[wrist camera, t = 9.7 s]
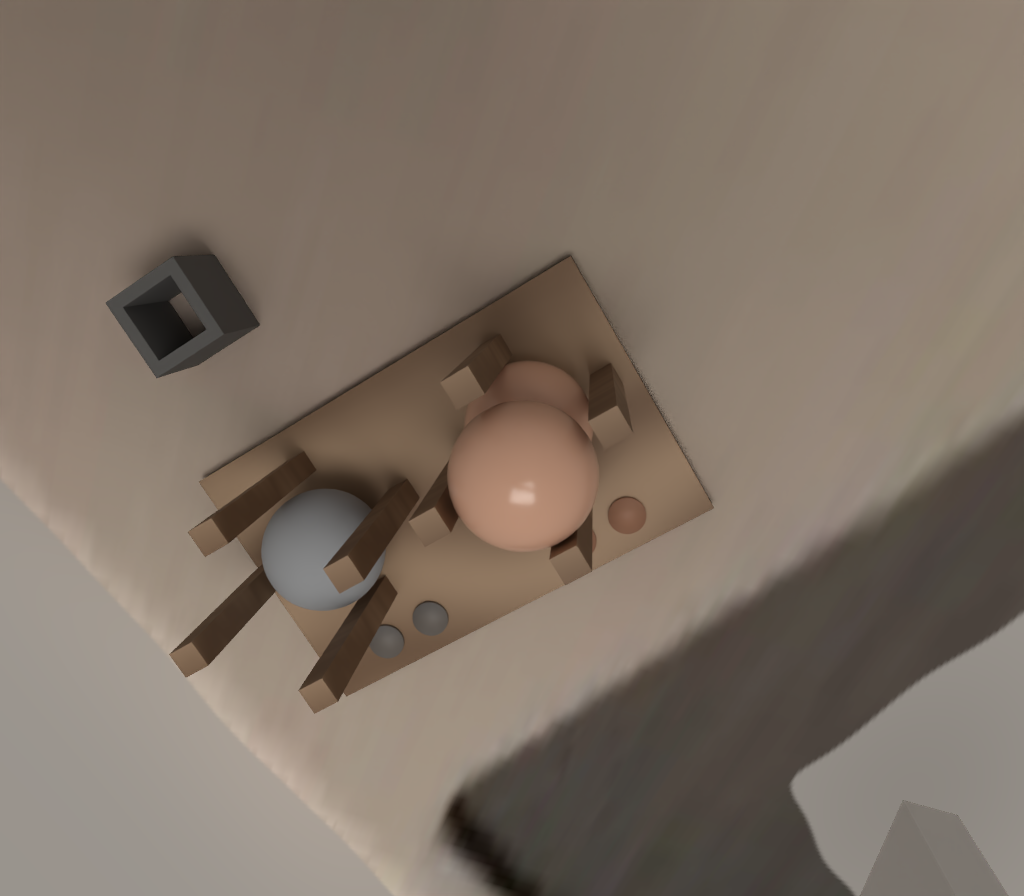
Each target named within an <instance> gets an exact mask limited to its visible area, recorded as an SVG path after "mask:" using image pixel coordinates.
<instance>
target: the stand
mask: <svg viewBox="0 0 1024 896" xmlns="http://www.w3.org/2000/svg"><path fill="white" fill-rule="evenodd" d="M181 292H182V293H183V295H184V296H185V298H186V299H187V301H188V302H189V304H190V305H191V307H192V308H193V310H194V311H195V313H196V314H197V316H198V318H199V319H200V321H201V322H202V324H203V325H204V327H205V328H206V330H205V331H204V332H202V333H201V334H199V335H198V336H196V337H195V338H193V337H192V336H191V334H190V333H189V331H188V330H187V328H186V327H185V325H184V324H183V322H182V321H181V319H180V318H179V316H178V315H177V313H176V312H175V310H174V309H173V307H172V306H171V304H170V303H169V300H170V299H172V298H173V297H175V296H176V295H178V294H179V293H181ZM106 304H107V306H108V307H109V309H110V310H111V312H112V313H113V315H114V316H115V318H116V319H117V321H118V322H119V324H120V325H121V326H122V328H123V329H124V331H125V332H126V334H127V335H128V337H129V338H130V340H131V341H132V343H133V344H134V346H135V347H136V348H137V350H138V351H139V353H140V354H141V356H142V357H143V359H144V360H145V362H146V363H147V365H148V366H149V368H150V369H151V371H152V372H153V373H154V375H155V376H156V378H159V377H162V376H165V375H168V374H171V373H174V372H178V371H181V370H184V369H187V368H190V367H194V366H197V365H199V364H201V363H202V362H204V361H205V360H207V359H208V358H210V357H211V356H213V355H214V354H216V353H218V352H219V351H221V350H222V349H224V348H225V347H227V346H228V345H230V344H232V343H233V342H235V341H236V340H238V339H239V338H241V337H242V336H244V335H245V334H247V333H249V332H250V331H252V330H253V329H255V328H256V327H258V326H259V323H258V322H257V320H256V318H255V317H254V315H253V314H252V312H251V311H250V309H249V308H248V306H247V305H246V303H245V301H244V300H243V298H242V297H241V295H240V294H239V292H238V291H237V289H236V288H235V286H234V285H233V283H232V281H231V280H230V278H229V277H228V275H227V274H226V272H225V271H224V269H223V268H222V266H221V264H220V263H219V261H218V260H217V258H216V257H215V255H198V256H173V257H171V258H170V259H168V260H167V261H166V262H164V263H163V264H161V265H160V266H158V267H157V268H155V269H154V270H152V271H151V272H150V273H148V274H147V275H145V276H144V277H142V278H141V279H139V280H138V281H136V282H135V283H134V284H132V285H131V286H129V287H128V288H126V289H125V290H123V291H122V292H120V293H119V294H118V295H116V296H115V297H113V298H112V299H110V300H109V301H107V302H106Z"/></svg>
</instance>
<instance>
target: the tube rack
mask: <svg viewBox="0 0 1024 896" xmlns="http://www.w3.org/2000/svg"><path fill="white" fill-rule="evenodd" d="M518 361H539V362H544V363H548V364H551V365H553V366H556V367H558V368H560V369H562V370H563V371H565V372H566V373H568V374H569V375H570V376H571V377H572V378H574V379H575V380H576V382H577V383H578V384H579V385H580V386H581V388H582V389H583V391H584V392H585V394H586V396H587V398H588V400H589V409H588V422H589V424H590V426H591V427H592V429H593V437H592V445H593V447H594V450H595V452H596V456H597V460H598V465H599V487H598V492H597V496H596V499H595V503H594V505H593V507H592V510H591V511H590V513H589V515H588V517H587V518H586V520H585V521H584V522H583V524H582V525H581V526H580V527H579V528H578V529H577V530H576V531H575V532H574V533H573V534H572V535H571V536H569V537H568V538H567V539H565V540H564V541H562V542H560V543H559V544H556V545H554V546H552V547H549V548H546V549H543V550H538V551H532V552H513V551H508V550H504V549H500V548H497V547H495V546H493V545H490V544H488V543H486V542H485V541H483V540H481V539H480V538H479V537H477V536H476V535H475V534H474V533H472V532H471V531H470V530H469V529H468V528H467V527H466V526H465V524H464V523H463V521H462V520H461V519H460V517H459V516H458V514H457V512H456V510H455V509H454V506H453V504H452V501H451V498H450V495H449V489H448V483H447V470H448V462H449V458H450V454H451V451H452V448H453V446H454V444H455V441H456V439H457V438H458V436H459V435H460V433H461V432H462V430H463V429H464V419H465V413H466V408H467V405H468V404H469V403H470V402H472V401H474V400H476V399H477V398H479V397H481V396H482V395H484V394H485V393H486V392H487V390H488V389H489V387H490V386H491V385H492V383H493V382H494V380H495V379H496V378H497V376H498V375H499V373H500V372H501V371H502V369H503V368H504V366H505V365H507V364H510V363H513V362H518ZM199 483H200V484H201V486H202V487H203V489H204V490H205V492H206V493H207V495H208V496H209V497H210V499H211V500H212V502H213V503H214V505H215V506H216V508H217V509H218V511H216V512H215V513H214V514H212V515H211V516H209V517H208V518H207V519H205V520H204V521H202V522H201V523H200V524H198V525H197V526H195V527H194V528H193V529H191V530H190V531H189V532H188V533H189V535H190V536H191V537H192V539H193V540H194V542H195V543H196V545H197V546H198V547H199V549H200V550H201V552H202V553H203V555H204V556H205V557H206V556H207V555H209V554H211V553H213V552H214V551H216V550H218V549H220V548H221V547H223V546H225V545H226V544H228V543H229V542H231V541H232V540H233V539H234V538H235V537H237V538H238V540H239V541H240V543H241V544H242V545H243V547H244V548H245V550H246V551H247V553H248V554H249V556H250V557H251V558H252V560H253V561H254V563H255V564H256V566H257V567H258V569H256V570H255V571H254V572H253V573H252V574H251V575H250V576H249V577H248V578H247V579H246V580H245V581H244V582H243V583H242V584H241V585H240V586H239V587H238V588H237V589H236V590H235V591H234V592H233V593H232V594H231V595H230V596H229V597H228V598H227V599H226V600H225V601H224V602H223V603H222V604H221V605H220V606H219V607H218V608H216V609H215V610H214V611H213V612H212V613H211V614H210V615H209V616H208V617H207V618H206V619H205V620H204V621H203V622H202V623H201V624H200V625H199V626H198V627H197V628H196V629H195V630H194V631H193V632H192V633H191V634H190V635H189V636H188V637H187V638H186V639H185V640H184V641H183V642H182V643H181V644H180V645H179V646H178V647H177V648H175V649H174V650H173V651H172V652H171V653H170V654H169V655H170V656H171V658H172V659H173V660H174V662H175V663H176V665H177V666H178V667H179V669H180V670H181V671H182V673H183V674H184V676H185V677H188V676H190V675H192V674H194V673H195V672H197V671H199V670H201V669H203V668H205V667H206V666H208V665H209V664H210V663H211V662H212V661H213V660H214V659H215V657H216V656H217V655H218V654H219V653H220V652H221V651H222V650H223V649H224V648H225V646H226V645H227V644H228V643H229V642H230V641H231V640H232V639H233V638H234V637H235V635H236V634H237V633H238V632H239V631H240V630H241V629H242V628H243V627H244V626H245V624H246V623H247V622H248V621H249V620H250V619H251V618H252V617H253V616H254V615H255V613H256V612H257V611H258V610H259V609H260V608H261V607H262V606H263V605H264V603H265V602H266V601H267V600H268V599H269V598H270V597H271V596H272V595H273V594H274V592H275V593H276V595H277V596H278V598H279V599H280V601H281V602H282V604H283V605H284V606H285V608H286V609H287V611H288V612H289V614H290V615H291V617H292V618H293V620H294V621H295V622H296V624H297V625H298V627H299V628H300V630H301V631H302V633H303V634H304V636H305V637H306V638H307V640H308V641H309V643H310V644H311V646H312V647H313V649H314V650H315V652H316V653H317V654H318V656H319V657H320V659H319V660H318V662H317V663H316V665H315V666H314V668H313V669H312V671H311V672H310V674H309V675H308V677H307V678H306V680H305V681H304V683H303V684H302V686H301V688H300V689H299V692H300V693H301V695H302V696H303V698H304V699H305V701H306V702H307V703H308V705H309V706H310V708H311V709H312V711H313V712H314V714H315V713H317V712H319V711H321V710H322V709H324V708H326V707H328V706H330V705H332V704H334V703H336V702H338V701H339V699H340V697H341V695H342V693H343V692H344V694H345V695H346V696H348V695H350V694H352V693H354V692H356V691H358V690H360V689H362V688H364V687H366V686H368V685H370V684H372V683H374V682H376V681H378V680H380V679H382V678H383V677H385V676H387V675H389V674H391V673H393V672H395V671H397V670H399V669H401V668H403V667H405V666H407V665H409V664H411V663H413V662H415V661H417V660H419V659H421V658H423V657H424V656H426V655H428V654H430V653H432V652H434V651H436V650H438V649H440V648H442V647H444V646H446V645H448V644H450V643H452V642H454V641H456V640H458V639H460V638H462V637H463V636H465V635H467V634H469V633H471V632H473V631H475V630H477V629H479V628H481V627H483V626H485V625H487V624H489V623H491V622H493V621H495V620H497V619H499V618H501V617H502V616H504V615H506V614H508V613H510V612H512V611H514V610H516V609H518V608H520V607H522V606H524V605H526V604H528V603H530V602H532V601H534V600H536V599H538V598H540V597H542V596H543V595H545V594H547V593H549V592H551V591H553V590H555V589H557V588H559V587H561V586H563V585H566V584H568V583H570V582H572V581H574V580H576V579H578V578H580V577H582V576H584V575H586V574H588V573H590V572H592V570H594V569H596V568H598V567H600V566H602V565H604V564H606V563H608V562H610V561H612V560H614V559H616V558H618V557H620V556H622V555H623V554H625V553H627V552H629V551H631V550H633V549H635V548H637V547H639V546H641V545H643V544H645V543H647V542H649V541H651V540H653V539H655V538H657V537H659V536H661V535H662V534H664V533H666V532H668V531H670V530H672V529H674V528H676V527H678V526H680V525H682V524H684V523H686V522H688V521H690V520H692V519H694V518H696V517H698V516H700V515H701V514H703V513H705V512H707V511H709V510H711V509H713V508H714V507H713V505H712V503H711V501H710V499H709V498H708V496H707V494H706V492H705V491H704V489H703V487H702V485H701V484H700V482H699V480H698V478H697V477H696V475H695V473H694V471H693V470H692V468H691V466H690V464H689V462H688V461H687V459H686V457H685V455H684V454H683V452H682V450H681V448H680V447H679V445H678V443H677V441H676V440H675V438H674V436H673V434H672V433H671V431H670V429H669V427H668V426H667V424H666V422H665V420H664V419H663V417H662V415H661V413H660V411H659V410H658V408H657V406H656V404H655V403H654V401H653V399H652V397H651V396H650V394H649V392H648V390H647V389H646V387H645V385H644V383H643V382H642V380H641V378H640V376H639V375H638V373H637V371H636V369H635V367H634V366H633V364H632V362H631V360H630V359H629V357H628V355H627V353H626V352H625V350H624V348H623V346H622V345H621V343H620V341H619V339H618V338H617V336H616V334H615V332H614V331H613V329H612V327H611V325H610V324H609V322H608V320H607V318H606V316H605V315H604V313H603V311H602V309H601V308H600V306H599V304H598V302H597V301H596V299H595V297H594V295H593V294H592V292H591V290H590V288H589V287H588V285H587V283H586V281H585V280H584V278H583V276H582V274H581V272H580V271H579V269H578V267H577V265H576V264H575V262H574V260H573V258H572V257H571V256H570V257H568V258H566V259H565V260H563V261H561V262H560V263H558V264H556V265H555V266H553V267H552V268H550V269H548V270H547V271H545V272H543V273H542V274H540V275H538V276H537V277H535V278H533V279H532V280H530V281H528V282H527V283H525V284H524V285H522V286H520V287H519V288H517V289H515V290H514V291H512V292H510V293H509V294H507V295H505V296H504V297H502V298H501V299H499V300H497V301H496V302H494V303H492V304H491V305H489V306H487V307H486V308H484V309H482V310H481V311H479V312H477V313H476V314H474V315H473V316H471V317H469V318H468V319H466V320H464V321H463V322H461V323H459V324H458V325H456V326H454V327H453V328H451V329H449V330H448V331H446V332H445V333H443V334H441V335H440V336H438V337H436V338H435V339H433V340H431V341H430V342H428V343H426V344H425V345H423V346H422V347H420V348H418V349H417V350H415V351H413V352H412V353H410V354H408V355H407V356H405V357H403V358H402V359H400V360H398V361H397V362H395V363H394V364H392V365H390V366H389V367H387V368H385V369H384V370H382V371H380V372H379V373H377V374H375V375H374V376H372V377H371V378H369V379H367V380H366V381H364V382H362V383H361V384H359V385H357V386H356V387H354V388H352V389H351V390H349V391H347V392H346V393H344V394H343V395H341V396H339V397H338V398H336V399H334V400H333V401H331V402H329V403H328V404H326V405H324V406H323V407H321V408H320V409H318V410H316V411H315V412H313V413H311V414H310V415H308V416H306V417H305V418H303V419H301V420H300V421H298V422H296V423H295V424H293V425H292V426H290V427H288V428H287V429H285V430H283V431H282V432H280V433H278V434H277V435H275V436H273V437H272V438H270V439H268V440H267V441H265V442H264V443H262V444H260V445H259V446H257V447H255V448H254V449H252V450H250V451H249V452H247V453H245V454H244V455H242V456H241V457H239V458H237V459H236V460H234V461H232V462H231V463H229V464H227V465H226V466H224V467H222V468H221V469H219V470H217V471H216V472H214V473H213V474H211V475H209V476H208V477H206V478H204V479H203V480H201V481H199ZM315 489H336V490H340V491H344V492H347V493H350V494H352V495H354V496H356V497H357V498H359V499H360V500H362V501H363V502H364V503H366V504H367V505H368V506H369V507H370V508H371V509H372V510H371V511H370V513H369V514H368V515H367V516H366V517H365V519H364V520H363V521H362V522H361V523H360V525H359V526H358V527H357V528H356V530H355V531H354V532H353V533H352V534H351V536H350V537H349V538H348V539H347V540H346V542H345V543H344V544H343V545H342V547H341V548H340V549H339V550H338V551H337V553H336V554H335V555H334V556H333V557H332V559H331V560H330V561H329V562H328V564H327V565H326V566H325V567H324V568H323V570H324V571H325V573H326V574H327V576H328V577H329V579H330V580H331V582H332V583H333V585H334V586H335V588H336V589H337V591H338V592H339V594H340V593H342V592H344V591H346V590H347V589H349V588H351V587H353V586H355V585H357V584H358V583H360V582H362V581H364V580H365V578H366V577H367V575H368V574H369V573H370V571H371V570H372V568H373V567H374V565H375V564H376V562H377V561H378V559H379V558H380V556H381V555H382V553H383V552H384V550H385V549H386V553H385V560H384V564H383V568H382V570H381V573H380V575H379V577H378V579H377V580H376V582H375V583H374V585H373V586H372V587H371V588H370V590H369V591H368V592H367V593H366V594H365V595H363V596H362V597H361V598H360V599H358V600H357V601H355V602H353V603H352V604H350V605H347V606H345V607H342V608H339V609H335V610H329V611H316V610H309V609H305V608H302V607H299V606H297V605H294V604H292V603H291V602H289V601H287V600H286V599H285V598H283V597H282V596H281V595H280V594H279V593H278V592H277V591H276V590H275V589H274V587H273V586H272V585H271V583H270V581H269V580H268V578H267V576H266V573H265V570H264V567H263V563H262V557H261V548H262V540H263V536H264V532H265V530H266V527H267V525H268V523H269V521H270V519H271V518H272V516H273V515H274V514H275V512H276V511H277V510H278V509H279V508H280V507H281V506H282V505H283V504H284V503H285V502H287V501H288V500H290V499H291V498H293V497H295V496H297V495H299V494H301V493H304V492H307V491H310V490H315Z"/></svg>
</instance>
